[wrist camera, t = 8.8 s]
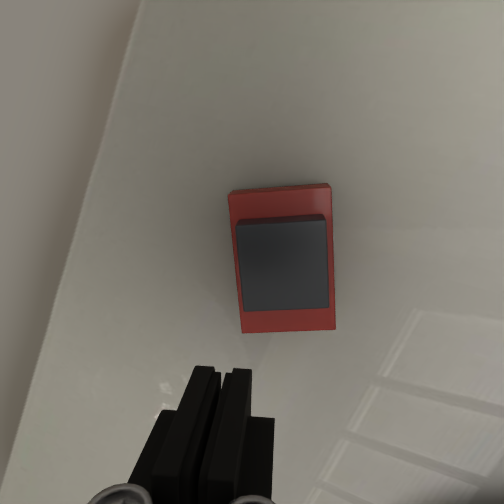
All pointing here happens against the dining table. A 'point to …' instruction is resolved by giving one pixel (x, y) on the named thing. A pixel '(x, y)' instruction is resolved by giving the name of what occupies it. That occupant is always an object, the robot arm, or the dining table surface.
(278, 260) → the toy car
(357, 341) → the dining table surface
